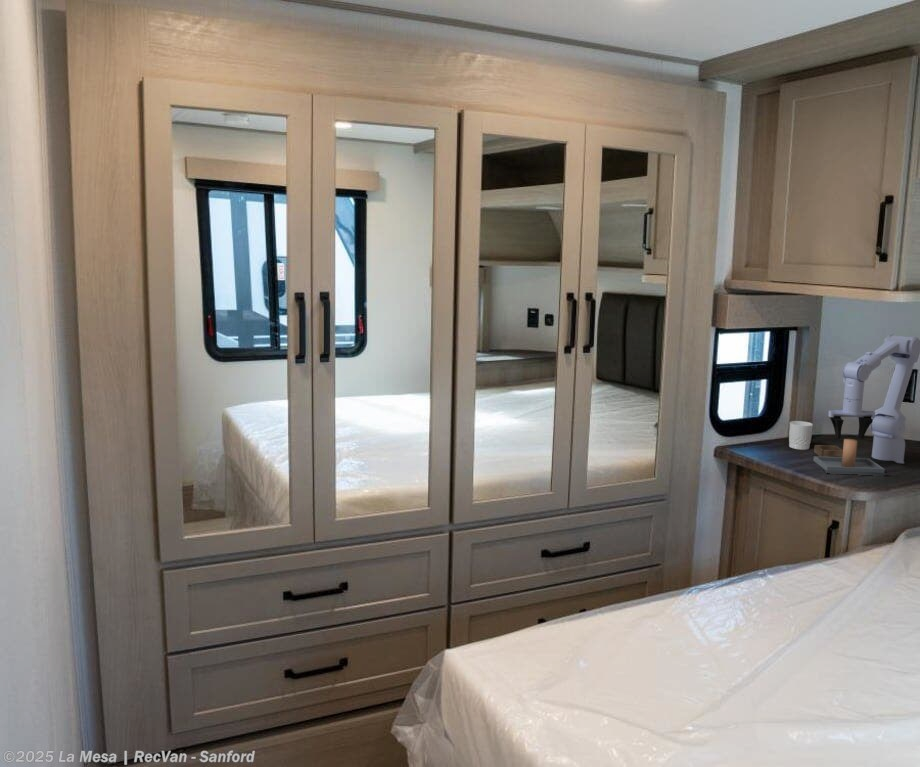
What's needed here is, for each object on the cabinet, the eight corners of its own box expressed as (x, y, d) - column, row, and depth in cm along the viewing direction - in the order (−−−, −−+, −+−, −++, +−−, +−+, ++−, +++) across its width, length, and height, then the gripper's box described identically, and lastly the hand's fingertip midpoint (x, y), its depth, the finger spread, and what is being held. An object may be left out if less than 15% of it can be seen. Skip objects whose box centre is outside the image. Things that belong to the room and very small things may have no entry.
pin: (850, 464, 259) (853, 438, 258) (857, 467, 255) (859, 441, 254) (839, 464, 259) (841, 438, 257) (845, 467, 255) (848, 441, 254)
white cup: (812, 453, 278) (815, 426, 276) (789, 451, 280) (792, 425, 278) (807, 447, 286) (810, 421, 284) (785, 446, 287) (787, 420, 286)
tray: (867, 465, 263) (868, 458, 262) (884, 476, 250) (884, 469, 250) (813, 463, 265) (813, 456, 264) (826, 474, 252) (827, 466, 252)
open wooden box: (835, 455, 276) (836, 445, 275) (843, 460, 268) (844, 451, 267) (813, 454, 276) (814, 445, 276) (821, 460, 269) (822, 450, 268)
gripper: (869, 396, 259) (865, 435, 262) (825, 396, 260) (822, 434, 262) (879, 400, 252) (875, 440, 255) (835, 400, 253) (831, 440, 255)
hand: (849, 438), depth 258 cm, fingers open, 7 cm apart
